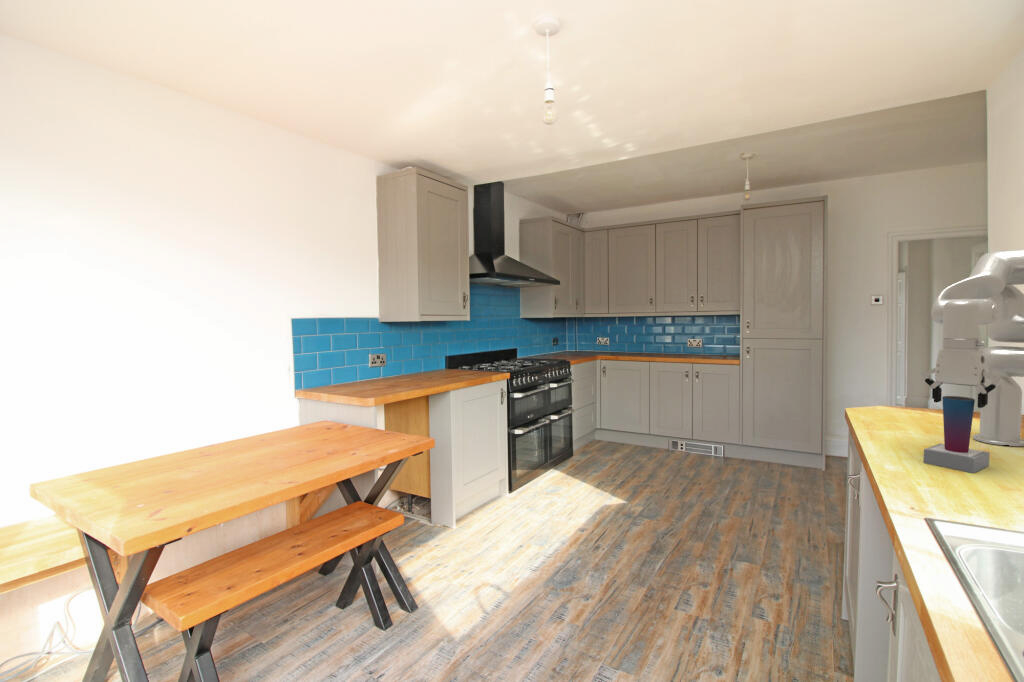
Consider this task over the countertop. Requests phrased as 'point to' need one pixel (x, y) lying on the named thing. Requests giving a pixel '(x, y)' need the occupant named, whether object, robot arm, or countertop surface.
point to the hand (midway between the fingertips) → (958, 404)
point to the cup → (957, 422)
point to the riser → (956, 459)
